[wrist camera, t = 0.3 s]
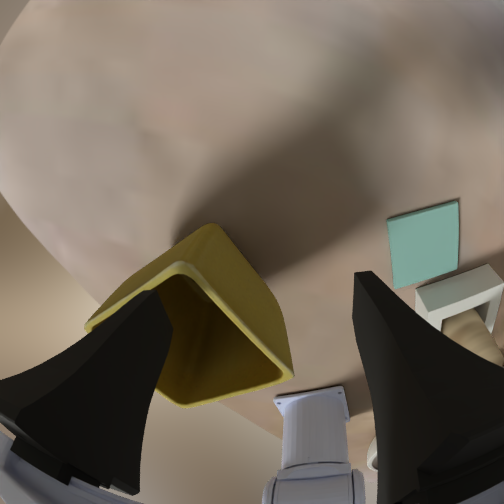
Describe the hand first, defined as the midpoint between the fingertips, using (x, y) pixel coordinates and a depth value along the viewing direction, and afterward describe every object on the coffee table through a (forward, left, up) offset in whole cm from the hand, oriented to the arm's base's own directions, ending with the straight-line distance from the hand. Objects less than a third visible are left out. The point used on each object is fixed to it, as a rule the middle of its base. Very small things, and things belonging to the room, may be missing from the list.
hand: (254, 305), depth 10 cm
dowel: (-14, -14, -10) cm, 22 cm away
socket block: (-14, -14, -10) cm, 22 cm away
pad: (-6, -11, -10) cm, 16 cm away
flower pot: (-3, +5, -10) cm, 12 cm away
